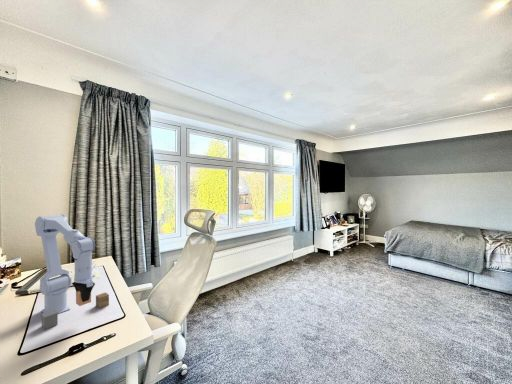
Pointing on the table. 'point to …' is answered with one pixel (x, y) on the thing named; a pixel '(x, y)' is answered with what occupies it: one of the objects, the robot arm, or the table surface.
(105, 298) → the walnut block
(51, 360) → the table surface
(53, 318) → the charcoal block
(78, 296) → the terracotta block
